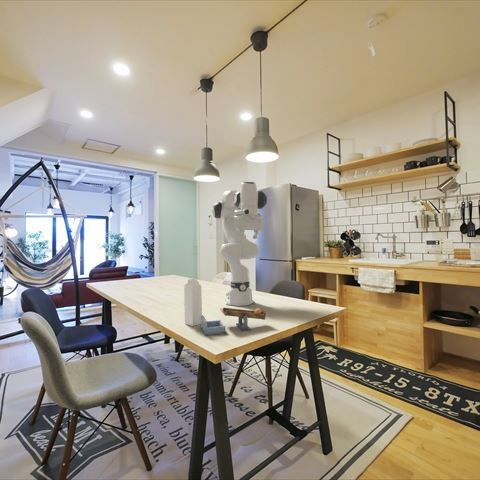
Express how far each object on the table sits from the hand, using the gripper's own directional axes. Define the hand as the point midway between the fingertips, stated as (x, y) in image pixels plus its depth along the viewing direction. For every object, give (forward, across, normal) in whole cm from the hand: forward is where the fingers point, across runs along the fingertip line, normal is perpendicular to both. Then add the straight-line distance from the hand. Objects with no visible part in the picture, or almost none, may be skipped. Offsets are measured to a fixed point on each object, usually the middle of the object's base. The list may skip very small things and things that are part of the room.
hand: (249, 238), depth 142 cm
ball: (+35, +8, +11) cm, 38 cm away
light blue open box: (+41, +27, 0) cm, 49 cm away
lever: (+37, +13, +5) cm, 40 cm away
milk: (+41, +25, -16) cm, 51 cm away
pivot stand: (+41, +15, +7) cm, 44 cm away
